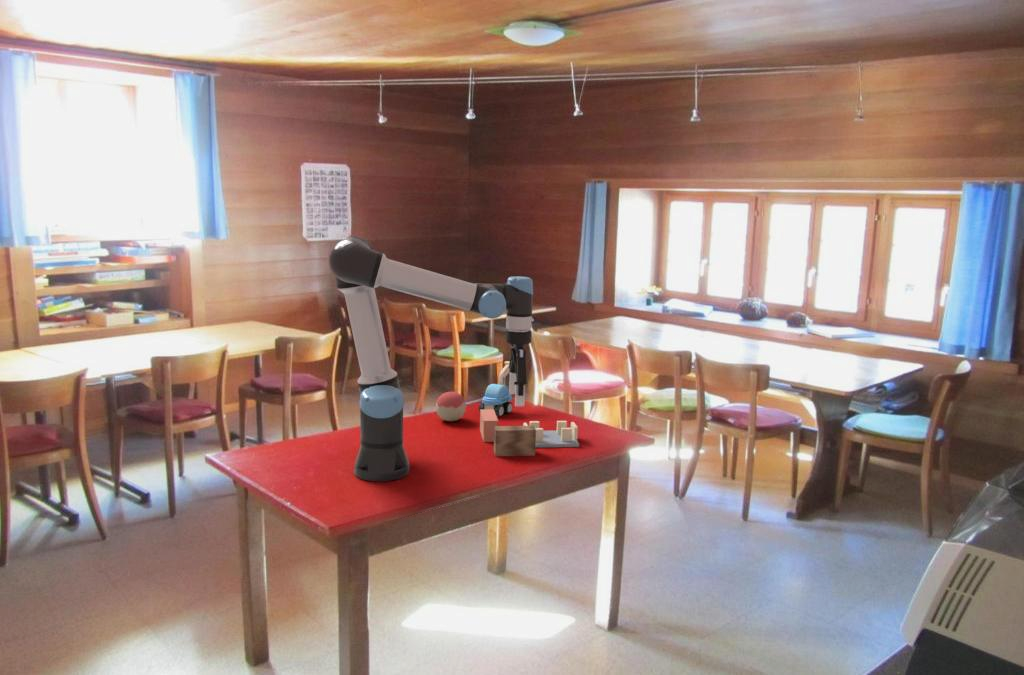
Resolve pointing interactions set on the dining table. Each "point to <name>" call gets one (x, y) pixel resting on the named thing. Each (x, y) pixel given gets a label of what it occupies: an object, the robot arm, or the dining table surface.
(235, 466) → the dining table surface
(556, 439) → the jig
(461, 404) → the toy
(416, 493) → the dining table surface
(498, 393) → the toy excavator
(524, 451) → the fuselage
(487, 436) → the salmon pink block
